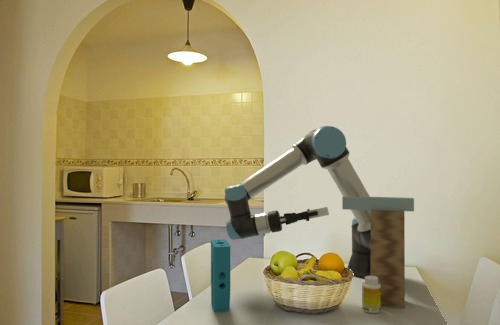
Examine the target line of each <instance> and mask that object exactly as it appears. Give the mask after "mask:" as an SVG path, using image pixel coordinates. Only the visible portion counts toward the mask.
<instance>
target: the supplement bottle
mask: <svg viewBox="0 0 500 325" xmlns="http://www.w3.org/2000/svg"><path fill="white" fill-rule="evenodd" d="M361 309H362V310H363V312H365V313H367V314H368V313H369V314H379V313H381V311H382V306H381V285H380V284H379V283H378V277H376V276H365V278H364V282H362V285H361Z"/></svg>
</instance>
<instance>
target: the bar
mask: <svg viewBox="0 0 500 325" xmlns="http://www.w3.org/2000/svg"><path fill="white" fill-rule="evenodd" d="M341 197H342V202H341V203H342V204H341V205H342V210H349V211H351V210H382V211H404V212H415V199H414V198H413V197H398V196H397V197H396V196H395V197H390V196H370V197H353V196H341Z"/></svg>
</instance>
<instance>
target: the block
mask: <svg viewBox="0 0 500 325" xmlns="http://www.w3.org/2000/svg"><path fill="white" fill-rule="evenodd" d="M210 296H211V297H210V300H211V301H210V302H211V306H212V310H213V312H215V313H216V312H217V313H218V312H219V313H220V312H229V311H230V309H231V308H230V307H231V306H230V305H231V245H230V243H229V242H228V240H227V239H210Z"/></svg>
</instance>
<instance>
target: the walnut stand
mask: <svg viewBox="0 0 500 325" xmlns="http://www.w3.org/2000/svg"><path fill="white" fill-rule="evenodd" d="M405 245H406V244H405V211H382V210H371V276H376V277H378V283H379V284H380V285H381V307H389V308H397V307H398V308H399V309H406V308H405V307H406V306H405V305H406V304H405V298H406V297H405V295H406V294H405V292H406V291H405V290H406V289H405V288H406V287H405V285H406V283H405V282H406V281H405V270H406V269H405V265H406V264H405V253H406V251H405V247H406V246H405Z"/></svg>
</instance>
